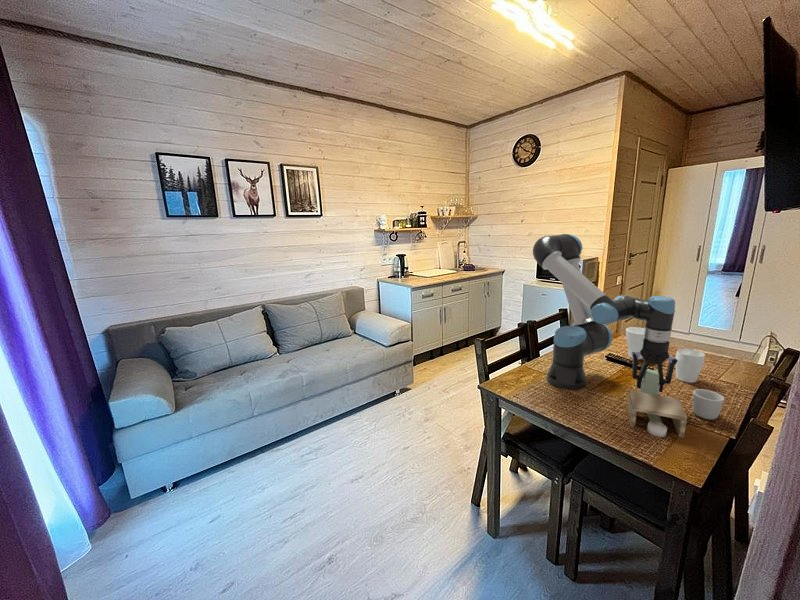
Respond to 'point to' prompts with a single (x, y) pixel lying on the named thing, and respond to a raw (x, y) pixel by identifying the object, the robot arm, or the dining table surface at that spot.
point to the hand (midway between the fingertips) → (647, 397)
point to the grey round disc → (657, 429)
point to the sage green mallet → (651, 389)
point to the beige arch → (657, 408)
